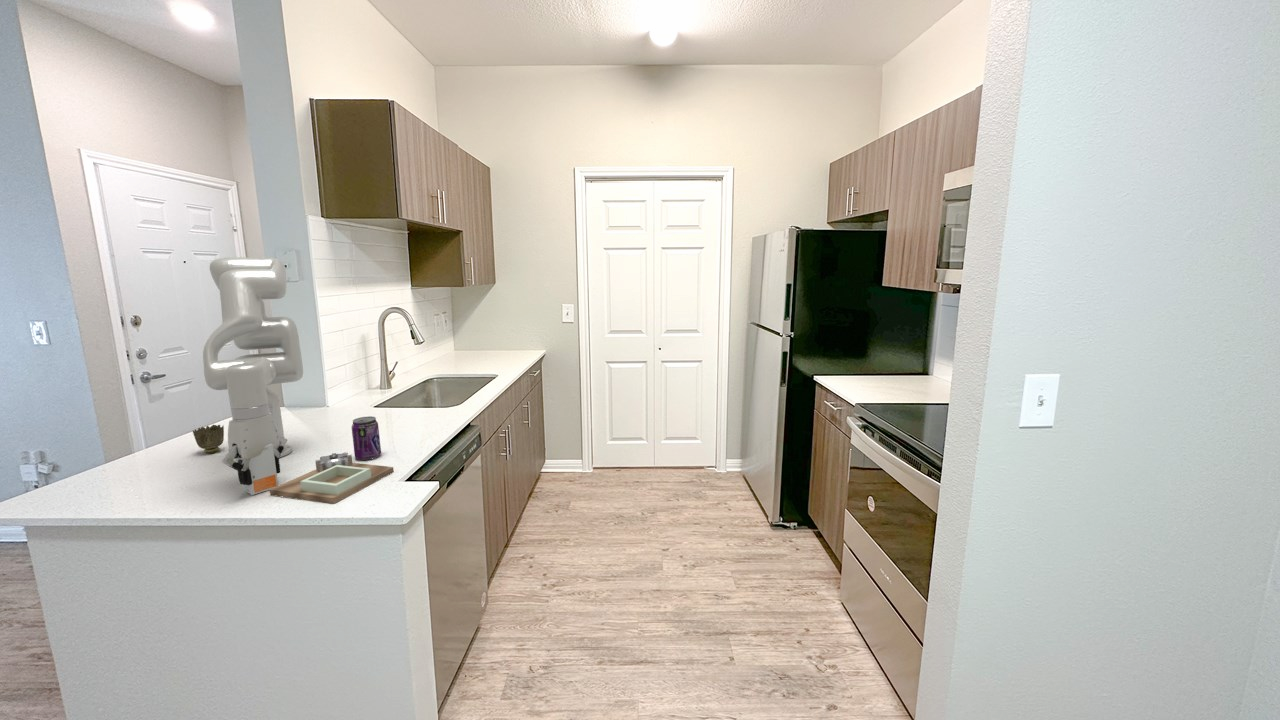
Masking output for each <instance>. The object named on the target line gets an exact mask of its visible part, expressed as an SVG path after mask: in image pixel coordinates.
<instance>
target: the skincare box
mask: <svg viewBox="0 0 1280 720" xmlns="http://www.w3.org/2000/svg"><path fill="white" fill-rule="evenodd" d="M243 461H244V460H243ZM242 464H243V462H242ZM247 469H248V470H250V471H251V478H252V484H251V485H244V491H245V492H246V493H247V494H250V495H251V496H254V495H257V494H261V493H264V492H267V491H270V489H272V488H275V487H277V486H279V483H278V482H279V481H278V475H277V474H278V473H276V465H275V457H274V449H273V444H270V445H267V446H265V447H264V449H263V451H262V453H261V455H258V456H256V457H254V458H251V459H250V462H249V465H248V468H247Z"/></svg>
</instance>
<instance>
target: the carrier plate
mask: <svg viewBox="0 0 1280 720" xmlns="http://www.w3.org/2000/svg"><path fill="white" fill-rule="evenodd" d="M352 464H353V466H351V467H360V468H369V469H370V470H371V478H369V479H367V480H365V481H364V482H362V483H360V484H358V485H356V486H354V487H352V488H350V489H348V490H346V491H344V492H342V493H340V494H339V495H332V494H324V493H316V492H308V491H302V490H301V483H300V481H302V480H304V479H307V478H309V477H311V476H313V475H315V474H318V473H320V471H319V472H317V469H314V470H311V471H310V472H306V473H304V474H302V475H300V476H298V477H296V478H293V479H291V480H288V481H287V482H284V483H282V484H278V486H277V487H275V488H272V489H270V490H269V495H270V496H272V495H277V496H276V497H279V496H283V497H282V498H287V497H291V498H290V499H294V498H297V499H296V500H302V499H303V500H304V501H310V500H311V502H319V503H325V504H326V503H327V504H333V505H335V504H337V503H338V502H342V501H343V500H344V499H346V498H348V497H350V496H353V494H355V493H357V492H359V491H361V490H363V489H365V488H367V487H368V486H371V485H372V484H374V483H376V482H378V481H380V480H382V479H384V478H385V477H388V476H389V475H391V474H392V472H393V473H394V470H395V469H394V466H386V465H380V464H378V465H376V464H370V463H359V462H352ZM390 473H391V474H390ZM388 474H389V475H388ZM383 477H384V478H383ZM346 478H348V477H347V476H339V475H338V476H335V477H333V478H331V479H329V480H327V481H325V482H327V483H335V484H336V483H338V482H340V481H342V480H344V479H346ZM381 478H382V479H381ZM379 479H380V480H379Z"/></svg>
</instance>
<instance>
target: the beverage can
mask: <svg viewBox="0 0 1280 720" xmlns="http://www.w3.org/2000/svg"><path fill="white" fill-rule="evenodd" d="M379 429H380V428H379V423H378V420H377V418H376V416H362V417H357V418H355V419H353V420H352V425H351V434H352V442H353V443H352V444H353V452H354V453H353V454H354V458H355V459H357V460H360V461H369V460H373V459H376V458H377V457H379V456H380V455H381V454H382V448H381V439H380V430H379ZM375 457H376V458H375ZM372 458H373V459H372ZM368 459H369V460H368Z"/></svg>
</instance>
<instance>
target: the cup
mask: <svg viewBox="0 0 1280 720" xmlns="http://www.w3.org/2000/svg"><path fill="white" fill-rule="evenodd" d="M224 426H225V425H224V424H223V425H222V426H221V425H220V424H217V425H216V424H212V425H211V426H209V425H206V427H203V426H201V427H198V428H195V429H194V430H192V434H193V437H194V439H195V442H196V444H197V446H198V447H199V448H201V450H202V449H203V451H204V453H205V454H215V453H217V452H219V451H220V449H221V448H220V446H221V445H222V444H223V442H224V440H225V439H224V438H225V437H224V436H225V431H224V429H225V427H224Z"/></svg>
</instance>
